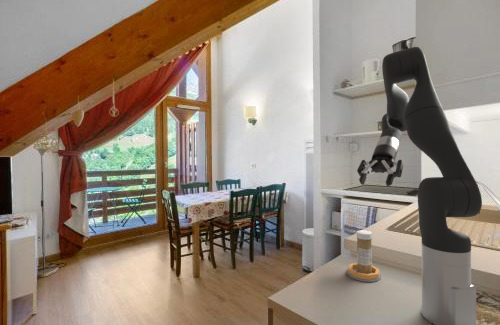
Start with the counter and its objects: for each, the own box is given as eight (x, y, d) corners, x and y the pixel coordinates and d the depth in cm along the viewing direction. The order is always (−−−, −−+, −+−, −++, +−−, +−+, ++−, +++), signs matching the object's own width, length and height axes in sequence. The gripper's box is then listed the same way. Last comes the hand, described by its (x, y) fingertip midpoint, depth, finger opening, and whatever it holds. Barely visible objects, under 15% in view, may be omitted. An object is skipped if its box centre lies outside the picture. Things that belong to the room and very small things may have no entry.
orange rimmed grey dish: (388, 279, 81) (388, 273, 81) (360, 284, 79) (360, 277, 79) (366, 266, 91) (366, 261, 91) (340, 270, 89) (340, 264, 89)
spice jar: (361, 268, 88) (360, 228, 88) (374, 273, 85) (374, 231, 84) (354, 272, 85) (353, 231, 85) (367, 277, 82) (367, 234, 81)
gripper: (363, 144, 101) (350, 176, 94) (405, 142, 91) (394, 177, 83) (369, 157, 105) (357, 189, 97) (409, 157, 95) (399, 192, 87)
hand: (374, 184), depth 90 cm, fingers open, 8 cm apart
